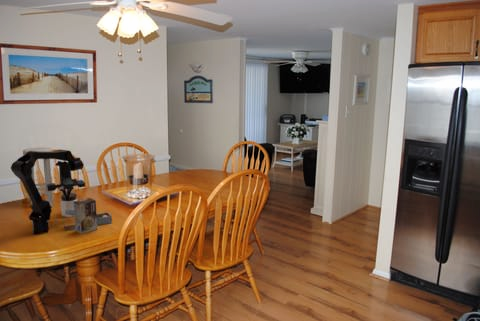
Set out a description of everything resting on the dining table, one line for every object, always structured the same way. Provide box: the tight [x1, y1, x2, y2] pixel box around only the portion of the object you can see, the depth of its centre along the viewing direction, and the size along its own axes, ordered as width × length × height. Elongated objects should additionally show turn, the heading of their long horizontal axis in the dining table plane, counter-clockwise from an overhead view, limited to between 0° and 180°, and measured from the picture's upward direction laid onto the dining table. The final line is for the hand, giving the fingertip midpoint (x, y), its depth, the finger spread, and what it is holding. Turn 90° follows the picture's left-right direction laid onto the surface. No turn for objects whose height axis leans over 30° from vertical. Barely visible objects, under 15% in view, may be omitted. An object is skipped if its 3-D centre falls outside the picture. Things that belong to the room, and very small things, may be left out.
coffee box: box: [74, 197, 98, 235], centre depth 199 cm, size 9×6×16 cm
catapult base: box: [63, 223, 76, 231], centre depth 205 cm, size 15×6×6 cm, turn 124°
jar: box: [60, 192, 78, 218], centre depth 222 cm, size 9×8×12 cm
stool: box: [22, 147, 54, 207], centre depth 237 cm, size 16×16×35 cm
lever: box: [65, 209, 75, 217], centre depth 208 cm, size 14×13×2 cm
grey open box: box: [96, 211, 113, 227], centre depth 212 cm, size 8×8×4 cm
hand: (67, 200), depth 210 cm, fingers closed
